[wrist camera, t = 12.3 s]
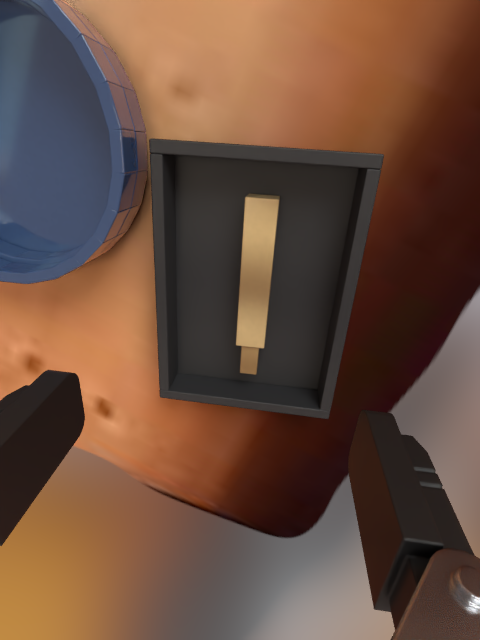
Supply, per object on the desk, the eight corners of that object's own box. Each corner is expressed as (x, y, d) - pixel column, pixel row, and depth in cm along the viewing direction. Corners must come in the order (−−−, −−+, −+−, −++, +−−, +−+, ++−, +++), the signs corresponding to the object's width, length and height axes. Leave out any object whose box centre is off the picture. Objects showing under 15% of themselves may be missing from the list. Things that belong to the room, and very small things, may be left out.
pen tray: (165, 139, 18) (148, 138, 16) (372, 153, 18) (384, 154, 15) (171, 374, 24) (159, 397, 22) (324, 393, 24) (328, 419, 21)
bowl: (-131, -24, 17) (-226, -64, 14) (144, -16, 16) (108, -56, 13) (-51, 253, 23) (-105, 270, 20) (155, 274, 22) (133, 295, 18)
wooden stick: (248, 193, 18) (244, 197, 17) (279, 195, 18) (279, 199, 17) (237, 361, 23) (233, 375, 21) (262, 364, 23) (260, 378, 21)
